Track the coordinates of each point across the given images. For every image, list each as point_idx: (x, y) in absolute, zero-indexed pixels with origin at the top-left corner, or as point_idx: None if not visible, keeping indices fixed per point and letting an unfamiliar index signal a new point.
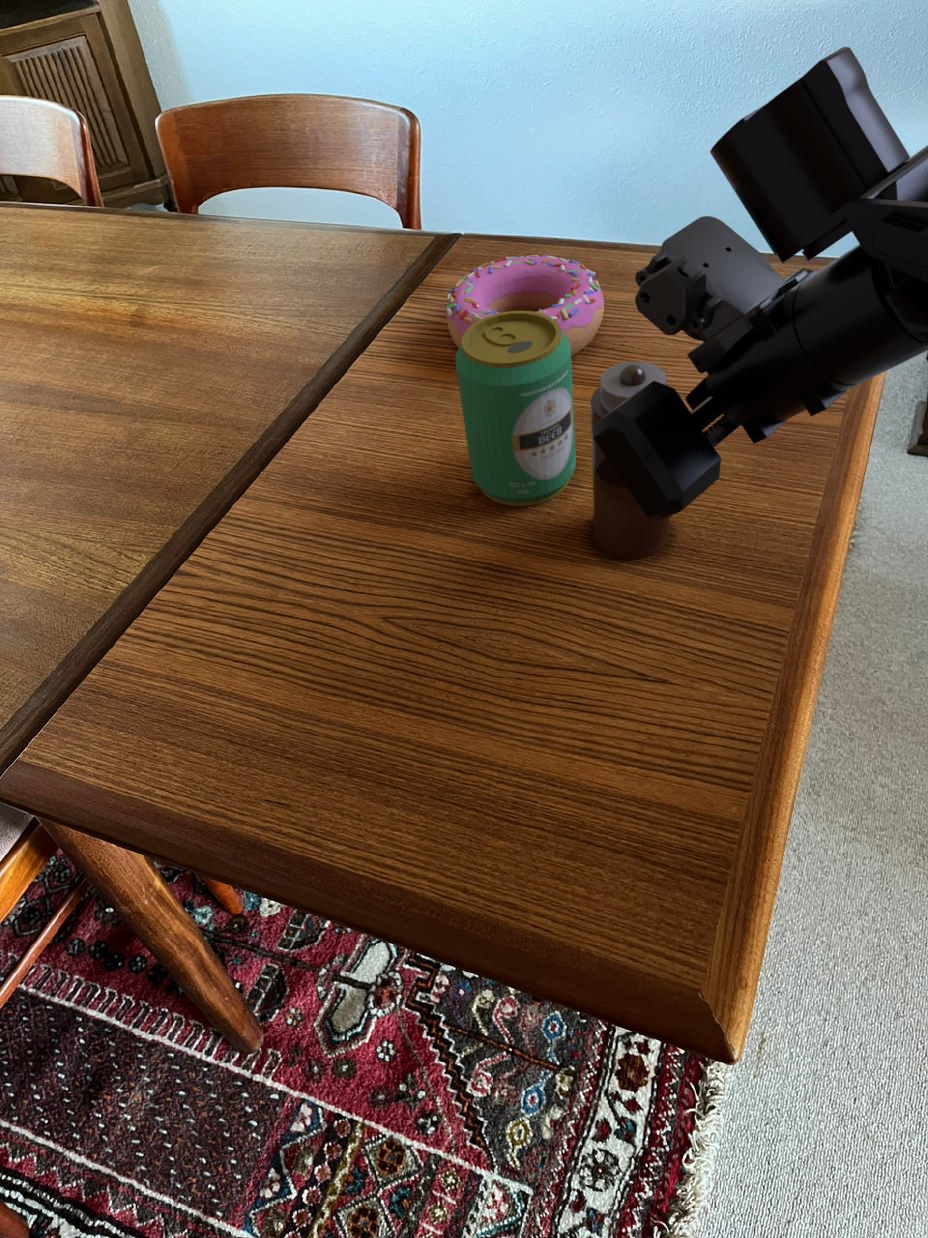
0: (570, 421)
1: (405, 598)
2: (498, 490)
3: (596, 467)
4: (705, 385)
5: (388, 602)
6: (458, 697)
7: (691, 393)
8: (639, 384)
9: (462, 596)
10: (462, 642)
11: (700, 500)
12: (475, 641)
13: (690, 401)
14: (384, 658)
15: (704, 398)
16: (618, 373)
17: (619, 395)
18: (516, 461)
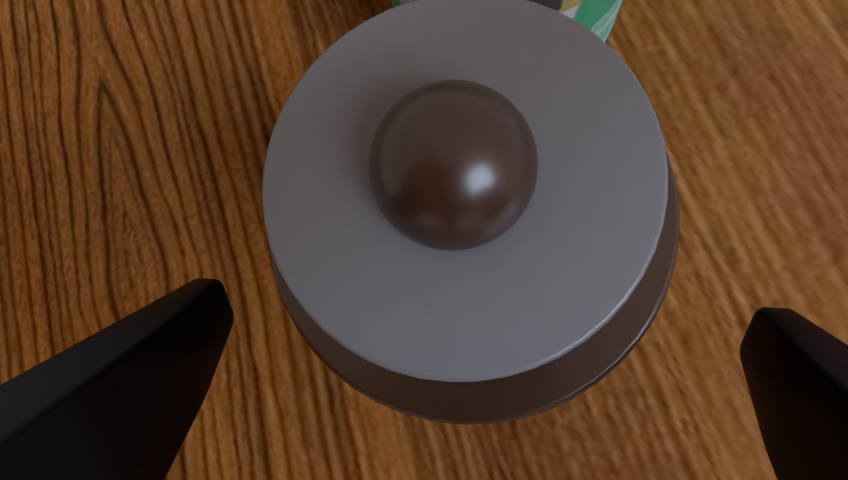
0: (559, 5)
1: (149, 80)
2: None
3: (181, 287)
4: (838, 424)
5: (130, 66)
6: (24, 287)
7: (783, 337)
8: (412, 244)
9: (193, 147)
10: (113, 216)
11: (660, 351)
12: (124, 232)
13: (757, 337)
14: (39, 145)
15: (786, 415)
16: (457, 68)
17: (271, 208)
18: (398, 2)
